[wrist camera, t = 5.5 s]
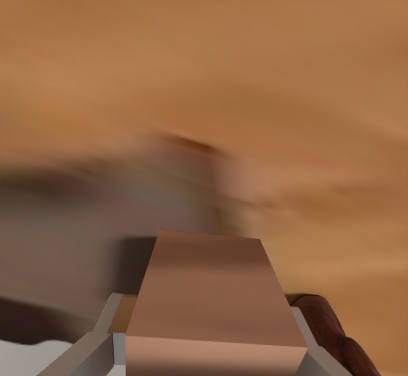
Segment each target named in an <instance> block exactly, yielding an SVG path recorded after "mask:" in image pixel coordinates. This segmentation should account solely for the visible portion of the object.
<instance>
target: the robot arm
mask: <svg viewBox="0 0 408 376" xmlns="http://www.w3.org/2000/svg"><path fill="white" fill-rule="evenodd" d="M137 298H138V295H131V294H121V293H112V294H111V295H110V297H109V299H108V301H107V303H106V305H105V307H104V309H103V311H102V313H101V315H100V318H99V320H98V322H97V324H96V326H95V328H94V330H93V332H88V333H87V334H86V335H84V336H83V337H82V338H81V339H80V340H78V341H77V342H76V343H75V344H74V345H72V346H71V347H70V348H69V349H68V350H67V351H65V352H64V353H63V354H62V355H61V356H59V357H58V358H57V359H56V360H55V361H53V362H52V363H51V364H50V365H49V366H48V367H46V368H45V369H44V370H43V371H42V372H40V373H39V374H38V375H37V376H106V375H107V374H108V373H109V371H110V370H111V369H112V368H113V366H114V365H126V356H125V335H126V331H127V328H128V325H129V322H130V319H131V316H132V313H133V310H134V307H135V304H136V301H137ZM290 308H291V310H292V313H293V315H294V317H295V319H296V321H297V324H298V326H299V328H300V330H301V333H302V335H303V337H304V339H305V342H306V344H307V346H308V349H307V351H306V353H305V355H304V357H303V359H302V361H301V363H300V365H299V367H298V370H297V372H296V374H295V376H352V375H351V374H350V373H349V372H348V371H347V370H346V369H345V368H344V367H343V366H342V365H341V364H340V363H339V362H338V361H337V360H335V359H334V358H333V357H332V356H331V355H330V354H329V353H328V352H327V351H326V350H325V349H324V348H323V347H320V346H318V345H317V343H316V341H315V339H314V337H313V335H312V333H311V331H310V329H309V327H308V325H307V323H306V321H305V319H304V317H303V315H302V313H301V311H300V309H299V308H298V307H291V306H290Z"/></svg>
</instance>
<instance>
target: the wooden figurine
mask: <svg viewBox="0 0 408 376" xmlns="http://www.w3.org/2000/svg"><path fill="white" fill-rule="evenodd" d="M291 307H298V308H299V309H300V311H301V313H302V315H303V317H304V319H305V321H306V323H307V325H308V327H309V329H310V331H311V333H312V335H313V337H314V339H315V341H316V343H317V345H318V346H320V347H323V348H324V349H325V350H326V351H327V352H328V353H329V354H330V355H331V356H332V357H333V358H334V359H335V360H337V361H338V362H339V363H340V364H341V365H342V366H343V367H344V368H345V369H346V370H347V371H348V372H349V373H350V374H351V375H352V376H381V375H380V374H379V372H378V371H377V369H376V368H375V366H374V364H373V363H372V361H371V360H370V358H369V357H368V356H367V354H366V353H365V351H364V350H363V349H362V347H361V346H360V345H359V344H358V343H357V342H356V341H355V340H353V339H352V338H349V337H346V335H345V333H344V331H343V329H342V326H341V324H340V322H339V320H338V318H337V317H336V315H335V313H334V311H333V310H332V308H331V306H330V305H329V303H328V301H327V300H326V299H325V298H323V297H321V296H304V297H301V298H299V299H298V300H297V301H296V302H295V303H294V304H293V305H292V306H291Z"/></svg>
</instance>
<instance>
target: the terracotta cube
mask: <svg viewBox="0 0 408 376" xmlns="http://www.w3.org/2000/svg"><path fill="white" fill-rule="evenodd" d="M307 349H308V346H307V344H306V342H305V339H304V337H303V335H302V333H301V330H300V328H299V326H298V324H297V321H296V319H295V317H294V315H293V313H292V310H291V308H290V306H289V304H288V301H287V299H286V297H285V295H284V292H283V290H282V288H281V286H280V283H279V281H278V279H277V277H276V275H275V272H274V270H273V268H272V266H271V263H270V261H269V259H268V257H267V254H266V252H265V250H264V248H263V245H262V243H261V241H260V239H254V238H244V237H234V236H223V235H213V234H203V233H193V232H183V231H172V230H162V229H160V230H159V233H158V237H157V240H156V243H155V246H154V249H153V252H152V255H151V258H150V261H149V264H148V267H147V270H146V273H145V276H144V279H143V282H142V286H141V289H140V292H139V295H138V298H137V301H136V304H135V307H134V310H133V313H132V316H131V319H130V322H129V325H128V328H127V331H126V335H125V356H126V376H295V374H296V372H297V370H298V367H299V365H300V363H301V361H302V359H303V357H304V355H305V353H306V351H307Z"/></svg>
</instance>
